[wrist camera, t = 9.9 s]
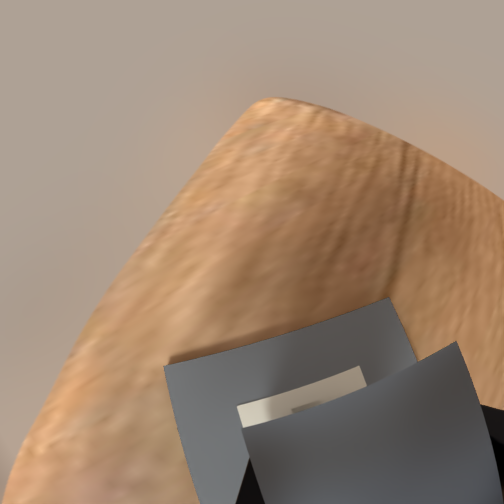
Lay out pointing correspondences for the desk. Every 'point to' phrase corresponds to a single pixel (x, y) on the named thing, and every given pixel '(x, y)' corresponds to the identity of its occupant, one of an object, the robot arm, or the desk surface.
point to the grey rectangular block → (383, 443)
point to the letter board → (276, 387)
